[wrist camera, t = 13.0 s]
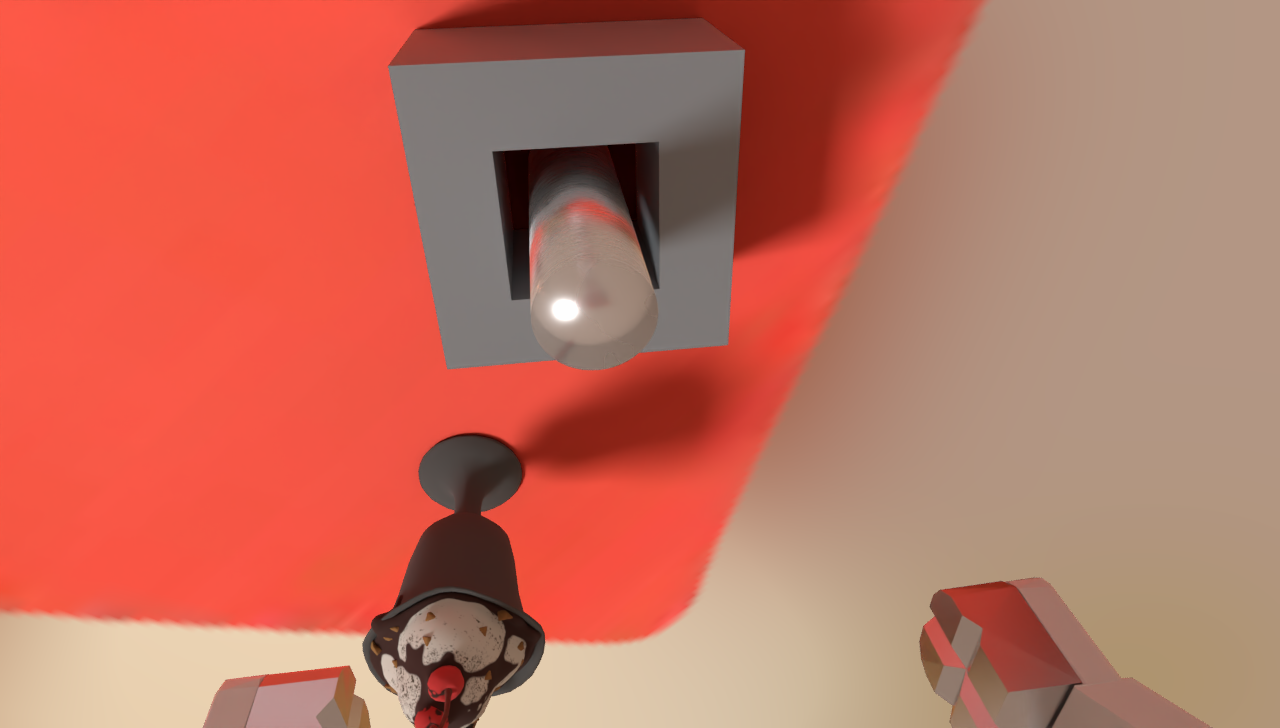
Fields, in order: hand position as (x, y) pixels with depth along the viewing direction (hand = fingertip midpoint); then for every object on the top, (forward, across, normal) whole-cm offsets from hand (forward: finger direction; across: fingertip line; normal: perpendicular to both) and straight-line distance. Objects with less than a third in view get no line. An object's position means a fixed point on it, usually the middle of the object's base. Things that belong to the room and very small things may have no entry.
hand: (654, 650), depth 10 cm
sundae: (+22, +6, +15) cm, 27 cm away
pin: (+22, 0, 0) cm, 22 cm away
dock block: (+22, 0, 0) cm, 22 cm away
